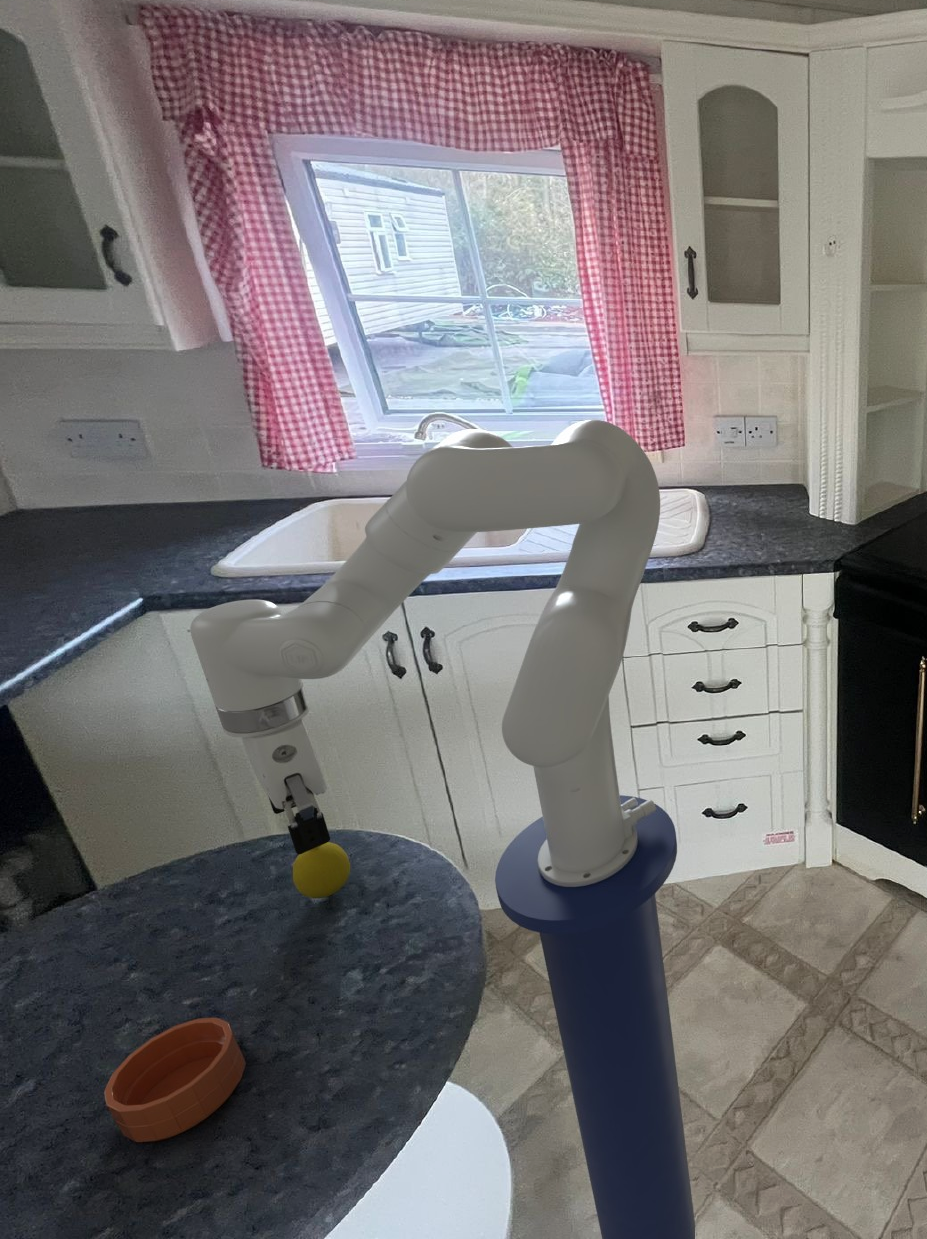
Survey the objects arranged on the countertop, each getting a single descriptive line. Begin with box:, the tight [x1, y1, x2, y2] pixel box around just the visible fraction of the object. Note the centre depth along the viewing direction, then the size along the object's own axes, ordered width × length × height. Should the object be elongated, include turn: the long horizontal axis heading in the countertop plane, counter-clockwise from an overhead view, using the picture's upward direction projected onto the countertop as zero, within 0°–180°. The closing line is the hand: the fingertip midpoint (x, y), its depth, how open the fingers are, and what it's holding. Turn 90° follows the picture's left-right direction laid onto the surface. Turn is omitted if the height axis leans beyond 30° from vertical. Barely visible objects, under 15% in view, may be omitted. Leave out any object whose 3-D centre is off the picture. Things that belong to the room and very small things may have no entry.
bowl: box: [103, 1017, 247, 1143], centre depth 69 cm, size 9×9×5 cm
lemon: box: [292, 841, 351, 899], centre depth 91 cm, size 6×6×8 cm
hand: (301, 826), depth 88 cm, fingers open, 9 cm apart
